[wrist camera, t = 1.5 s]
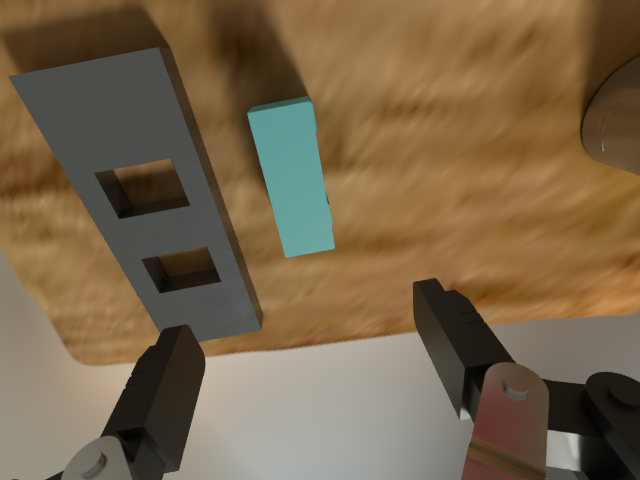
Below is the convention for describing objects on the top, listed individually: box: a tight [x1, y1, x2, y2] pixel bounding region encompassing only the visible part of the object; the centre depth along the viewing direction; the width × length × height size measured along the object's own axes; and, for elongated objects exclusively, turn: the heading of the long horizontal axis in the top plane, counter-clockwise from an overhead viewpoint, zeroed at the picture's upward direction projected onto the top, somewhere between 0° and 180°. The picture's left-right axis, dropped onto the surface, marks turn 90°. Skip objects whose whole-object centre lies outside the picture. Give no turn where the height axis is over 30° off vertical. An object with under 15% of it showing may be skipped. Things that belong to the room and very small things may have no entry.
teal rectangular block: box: [247, 96, 335, 258], centre depth 25 cm, size 4×11×6 cm, turn 9°
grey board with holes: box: [8, 47, 263, 342], centre depth 29 cm, size 10×26×2 cm, turn 10°
